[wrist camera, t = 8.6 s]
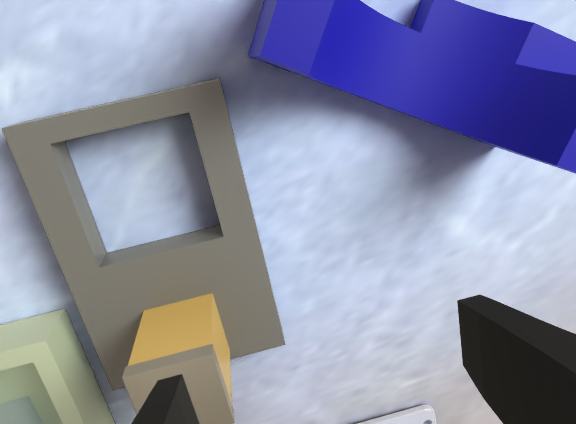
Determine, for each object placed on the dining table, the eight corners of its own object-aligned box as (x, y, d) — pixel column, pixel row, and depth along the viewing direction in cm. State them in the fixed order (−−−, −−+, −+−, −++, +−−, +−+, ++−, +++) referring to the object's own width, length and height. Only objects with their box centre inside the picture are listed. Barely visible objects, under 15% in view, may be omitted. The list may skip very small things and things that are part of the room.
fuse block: (281, 326, 23) (301, 414, 17) (119, 369, 22) (86, 474, 16) (219, 78, 18) (220, 87, 13) (18, 122, 18) (-71, 152, 12)
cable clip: (538, 49, 20) (662, 46, 15) (492, 146, 21) (591, 178, 16) (283, -63, 17) (314, -119, 12) (247, 55, 19) (259, 56, 13)
